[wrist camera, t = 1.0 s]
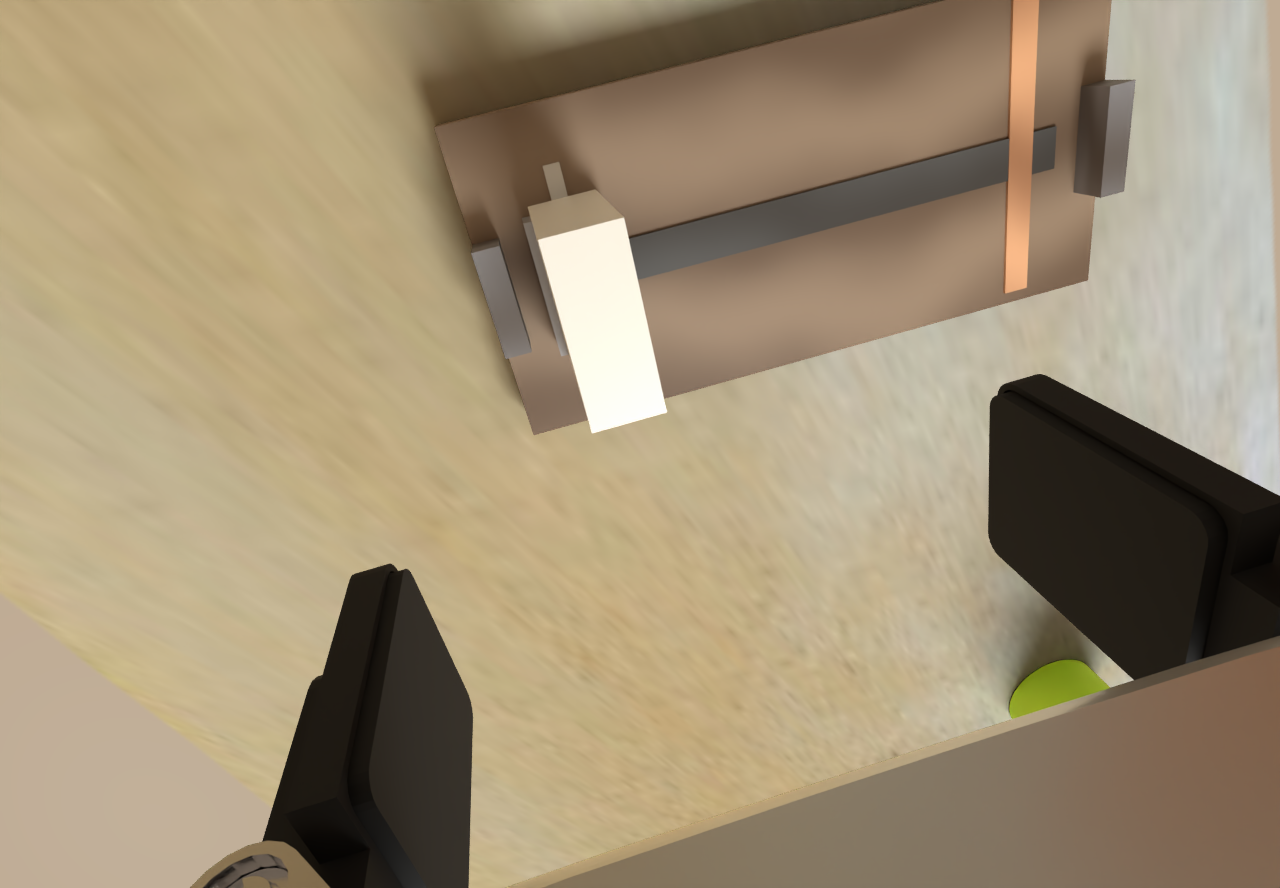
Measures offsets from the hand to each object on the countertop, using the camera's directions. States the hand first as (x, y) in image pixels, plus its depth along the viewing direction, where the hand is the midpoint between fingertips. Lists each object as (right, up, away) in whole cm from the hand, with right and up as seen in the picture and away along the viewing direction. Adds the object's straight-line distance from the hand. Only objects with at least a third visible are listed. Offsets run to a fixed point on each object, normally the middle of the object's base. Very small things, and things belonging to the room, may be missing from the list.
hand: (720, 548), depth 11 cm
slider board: (+5, +11, +18) cm, 22 cm away
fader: (-3, +8, +16) cm, 18 cm away
